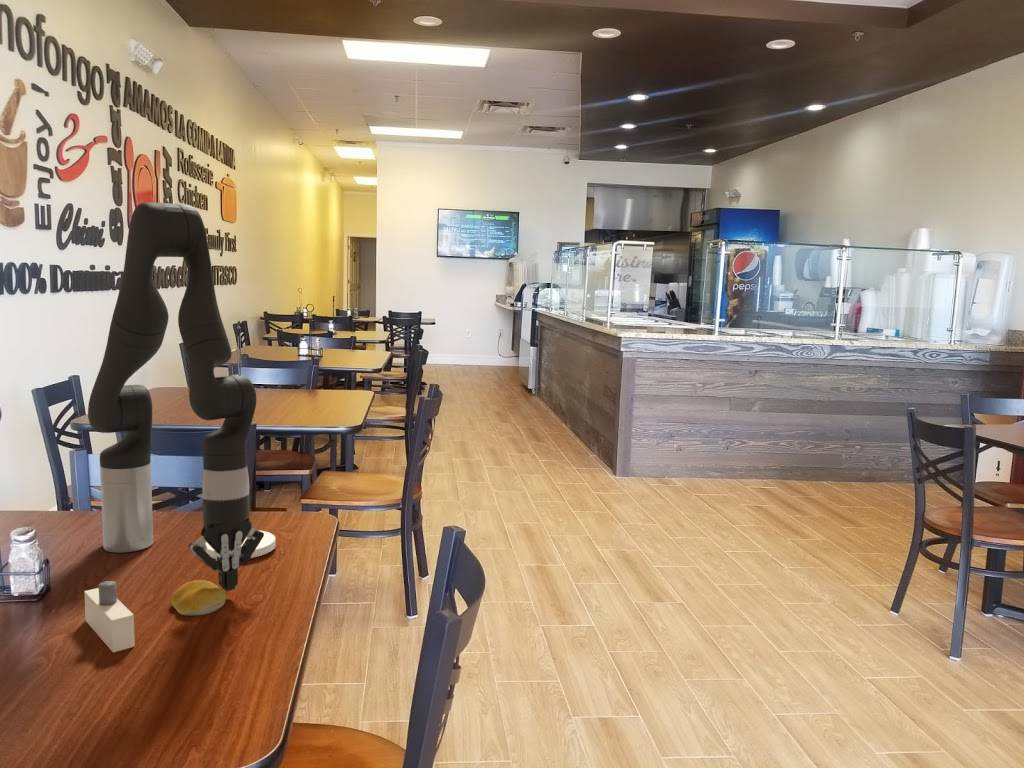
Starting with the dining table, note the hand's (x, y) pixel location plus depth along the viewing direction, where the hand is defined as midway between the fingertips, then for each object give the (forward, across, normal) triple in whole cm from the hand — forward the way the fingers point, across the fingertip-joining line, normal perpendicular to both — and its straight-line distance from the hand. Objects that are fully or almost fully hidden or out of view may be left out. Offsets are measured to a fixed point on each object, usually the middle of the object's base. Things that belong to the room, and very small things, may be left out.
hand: (228, 589), depth 132 cm
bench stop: (+2, +20, +1) cm, 20 cm away
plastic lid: (+2, -12, -21) cm, 24 cm away
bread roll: (+2, +5, 0) cm, 5 cm away
